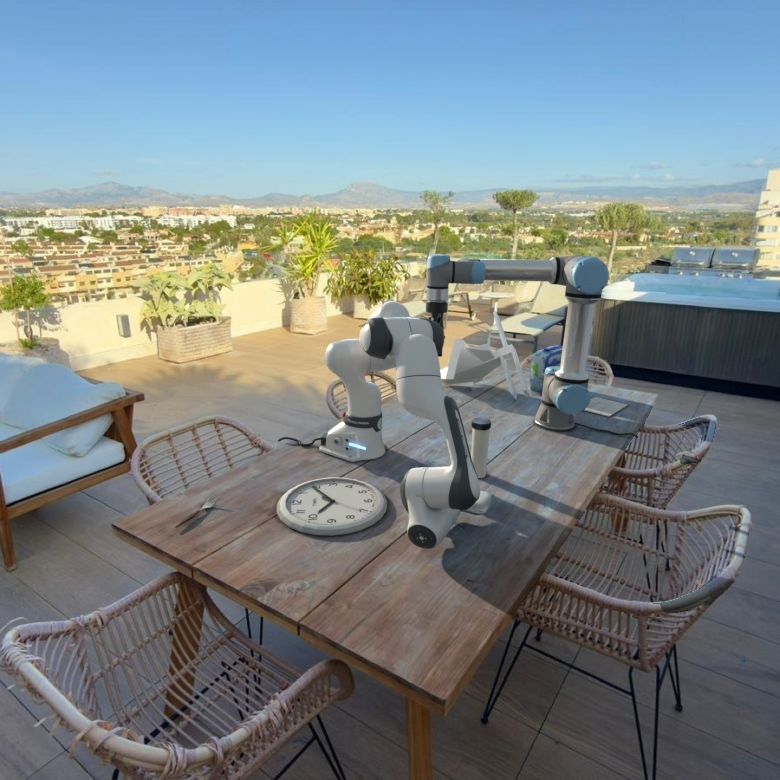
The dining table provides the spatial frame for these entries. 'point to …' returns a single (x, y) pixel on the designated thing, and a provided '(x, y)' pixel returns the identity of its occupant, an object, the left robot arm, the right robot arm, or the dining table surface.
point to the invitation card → (604, 406)
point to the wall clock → (331, 506)
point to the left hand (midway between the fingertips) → (460, 482)
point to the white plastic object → (482, 362)
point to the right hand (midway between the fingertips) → (434, 360)
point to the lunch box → (543, 365)
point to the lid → (481, 424)
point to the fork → (206, 505)
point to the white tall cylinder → (479, 451)
